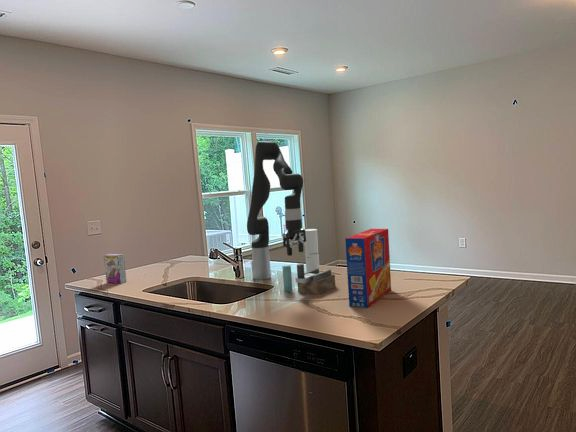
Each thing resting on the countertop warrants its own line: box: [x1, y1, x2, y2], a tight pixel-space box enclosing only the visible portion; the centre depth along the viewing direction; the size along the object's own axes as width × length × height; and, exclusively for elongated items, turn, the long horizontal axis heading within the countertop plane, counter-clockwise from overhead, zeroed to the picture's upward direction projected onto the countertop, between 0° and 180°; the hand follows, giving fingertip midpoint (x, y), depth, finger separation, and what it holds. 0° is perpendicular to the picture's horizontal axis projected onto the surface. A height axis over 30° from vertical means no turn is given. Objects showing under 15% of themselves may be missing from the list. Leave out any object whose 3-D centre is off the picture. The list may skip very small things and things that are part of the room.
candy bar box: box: [103, 253, 127, 285], centre depth 255 cm, size 11×5×16 cm, turn 65°
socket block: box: [296, 269, 336, 295], centre depth 210 cm, size 12×14×8 cm
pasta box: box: [344, 228, 392, 309], centre depth 188 cm, size 28×8×28 cm, turn 148°
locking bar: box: [295, 263, 316, 283], centre depth 203 cm, size 5×11×8 cm, turn 142°
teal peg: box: [281, 264, 293, 293], centre depth 210 cm, size 4×4×12 cm
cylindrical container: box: [304, 228, 321, 273], centre depth 237 cm, size 7×7×25 cm
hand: (295, 253), depth 202 cm, fingers open, 8 cm apart
